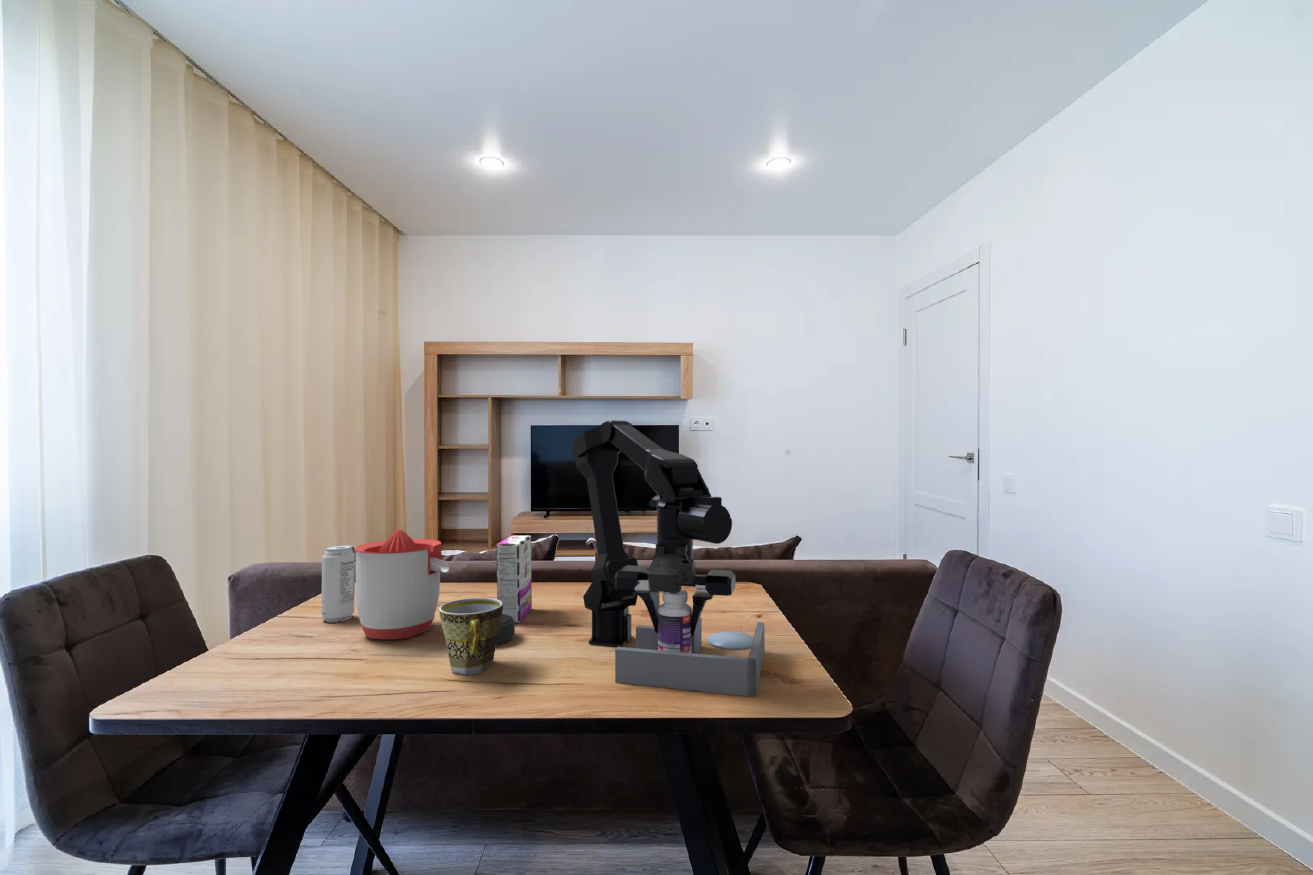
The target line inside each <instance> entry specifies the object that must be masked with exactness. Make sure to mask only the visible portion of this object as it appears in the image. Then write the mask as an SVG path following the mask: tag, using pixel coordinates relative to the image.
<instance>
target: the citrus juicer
mask: <svg viewBox="0 0 1313 875" xmlns="http://www.w3.org/2000/svg"><path fill="white" fill-rule="evenodd" d="M442 546H443V544H442V542H441V541H439V540H436V539H430V538H429V539H428V538H427V539H426V538H411V536H410V535H408V534H407V533H406V532H405V531H404V530H402V529H401V528H399V529H397V530H395V531H394V532H393V533H392V534H390V536H388V538H387V539H386V540H380V541H379V540H378V541H372V542H368V543H363V544H359V545H357V546H355V547H353V549H354V551H355V604H356V611H357V614H358V619H359V622H360V626H361V628H362V630H363V633H364V635H365V636H366V637H367V638H368V639H371V638H373V639H372V640H374V639H375V640H396V639H397V640H398V639H404V640H406V639H407V640H409V639H411V638H413V637H414V636H417V635H420V634H423V633H425V632H427V631H428V630H429V629H430V628H431V626H432V624H433V622H434V619H435V617H436V616H435V614H436V610H437V607H438V605H439V604H438V603H439V598H440V591H441V590H440V588H441V587H440V586H441V574H446V573H448V572H449V571H450V566H449V563H448V562H447V561H445V560H442V559H443V558H442V552H443V550H442V549H443V548H442Z"/></svg>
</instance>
